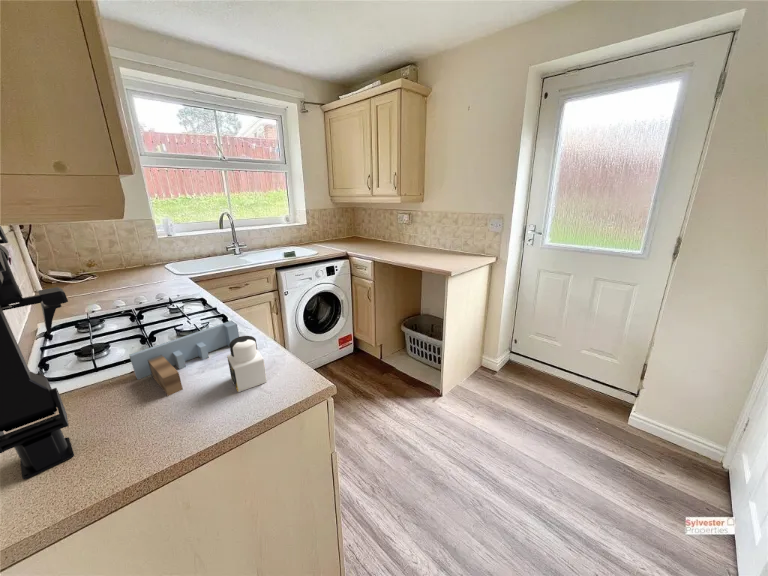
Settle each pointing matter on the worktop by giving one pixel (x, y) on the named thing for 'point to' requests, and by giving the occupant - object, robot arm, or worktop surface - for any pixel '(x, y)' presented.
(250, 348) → the medicine bottle
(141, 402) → the worktop surface
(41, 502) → the worktop surface
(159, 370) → the brown wooden block
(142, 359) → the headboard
